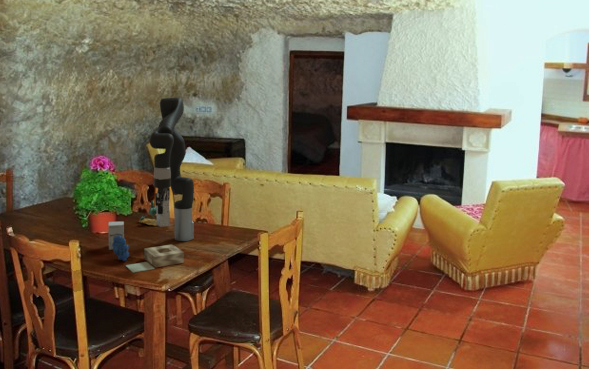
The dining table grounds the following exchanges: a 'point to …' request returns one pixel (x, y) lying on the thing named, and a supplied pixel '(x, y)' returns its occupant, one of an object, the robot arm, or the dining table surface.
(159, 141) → the robot arm
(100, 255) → the dining table surface
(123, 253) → the grapes
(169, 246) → the holder
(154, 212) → the frog figurine
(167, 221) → the peg
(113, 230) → the supplement box
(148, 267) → the mat
